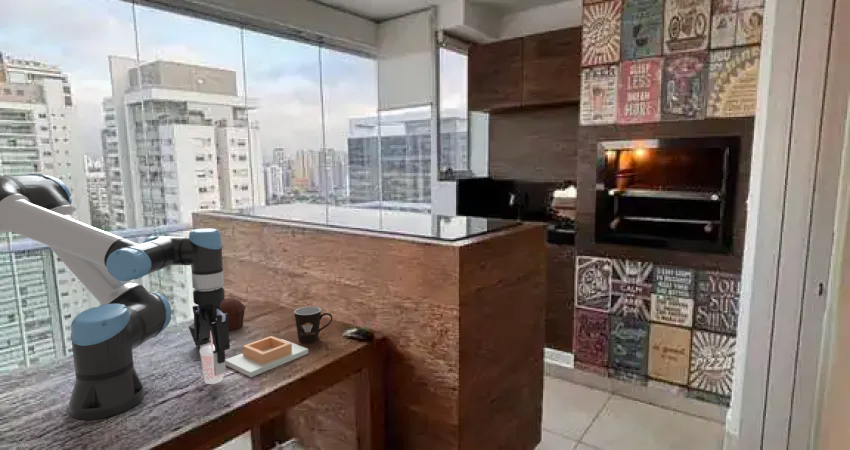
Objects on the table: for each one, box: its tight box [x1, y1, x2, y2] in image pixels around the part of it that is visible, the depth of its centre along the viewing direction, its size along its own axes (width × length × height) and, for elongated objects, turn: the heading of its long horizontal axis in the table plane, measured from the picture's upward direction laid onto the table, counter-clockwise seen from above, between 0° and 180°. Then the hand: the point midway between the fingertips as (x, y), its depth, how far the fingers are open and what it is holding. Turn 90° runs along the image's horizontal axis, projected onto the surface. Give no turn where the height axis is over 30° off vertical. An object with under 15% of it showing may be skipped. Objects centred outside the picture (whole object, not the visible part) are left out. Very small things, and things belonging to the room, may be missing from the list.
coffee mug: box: [293, 306, 333, 344], centre depth 154 cm, size 12×9×10 cm
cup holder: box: [225, 335, 309, 378], centre depth 139 cm, size 20×13×4 cm, turn 144°
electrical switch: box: [188, 322, 214, 349], centre depth 146 cm, size 9×5×9 cm, turn 57°
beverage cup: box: [199, 331, 224, 385], centre depth 125 cm, size 6×6×14 cm
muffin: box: [214, 297, 247, 332], centre depth 165 cm, size 12×11×10 cm
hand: (213, 369), depth 126 cm, fingers closed on beverage cup, 6 cm apart
